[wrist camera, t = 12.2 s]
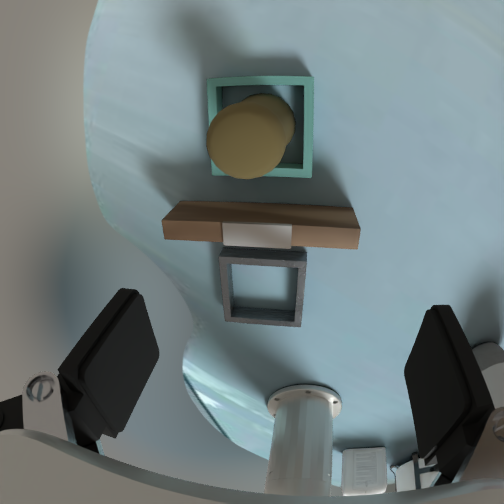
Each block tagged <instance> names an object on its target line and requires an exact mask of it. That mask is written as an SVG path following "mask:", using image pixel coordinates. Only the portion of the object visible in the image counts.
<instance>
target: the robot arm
mask: <svg viewBox="0 0 504 504" xmlns="http://www.w3.org/2000/svg"><path fill="white" fill-rule="evenodd" d="M158 358H159V348H158V345H157V342H156V339H155V336H154V333H153V329H152V326H151V323H150V319H149V316H148V312H147V310H146V306H145V302H144V299H143V296H142V295H140V294H139V292H138V291H137V290H135V289H125V288H121V289H120V290H118V292H117V293H116V294H115V295H114V297H113V298H112V299H111V300H110V302H109V303H108V304H107V305H106V307H105V308H104V309H103V310H102V312H101V313H100V314H99V315H98V317H97V318H96V319H95V320H94V322H93V323H92V324H91V326H90V327H89V328H88V329H87V331H86V332H85V333H84V335H83V336H82V337H81V339H80V340H79V341H78V343H77V344H76V345H75V347H74V348H73V349H72V351H71V352H70V353H69V355H68V356H67V357H66V359H65V360H64V361H63V363H62V364H61V366H60V367H59V368H58V371H59V374H58V376H56V375H55V374H53V373H51V372H46V371H44V372H39V373H37V374H34V375H33V376H32V377H30V378H29V379H28V380H27V382H26V383H25V385H24V387H23V392H22V395H20V396H17V397H14V398H11V399H8V400H5V401H2V402H0V504H504V407H499V408H496V409H495V407H494V404H493V400H492V398H491V395H490V392H489V390H488V387H487V385H486V382H485V380H484V377H483V375H482V372H481V370H480V367H479V365H478V363H477V360H476V358H475V356H474V354H473V351H472V349H471V347H470V345H469V343H468V340H467V338H466V336H465V334H464V332H463V330H462V328H461V326H460V324H459V322H458V320H457V318H456V316H455V314H454V312H453V310H452V308H451V307H450V305H433V306H432V307H431V309H430V310H427V311H426V313H425V316H424V319H423V322H422V324H421V327H420V330H419V333H418V335H417V338H416V340H415V343H414V346H413V348H412V351H411V353H410V355H409V358H408V360H407V363H406V365H405V369H404V376H405V380H406V385H407V389H408V394H409V399H410V404H411V409H412V414H413V420H414V425H415V431H416V437H417V443H418V450H419V456H420V458H421V459H424V463H425V466H428V465H434V464H438V470H439V472H438V474H437V476H436V477H435V479H434V480H433V482H432V483H431V485H430V486H429V487H428V488H422V489H416V490H408V491H401V492H392V493H383V494H372V495H358V496H331V477H332V444H333V419H334V418H335V417H336V416H337V415H338V414H339V413H340V412H341V409H342V401H341V398H340V397H339V395H338V394H337V393H335V392H334V391H332V390H330V389H328V388H325V387H321V386H316V385H294V386H289V387H285V388H283V389H280V390H278V391H276V392H275V393H273V394H272V395H271V396H270V398H269V400H268V407H267V408H268V411H269V413H270V414H271V415H272V416H273V417H274V418H275V422H274V429H273V437H272V444H271V450H270V457H269V464H268V470H267V477H266V483H265V490H264V493H255V492H246V491H239V490H233V489H226V488H220V487H214V486H209V485H204V484H199V483H195V482H190V481H185V480H181V479H177V478H173V477H169V476H165V475H162V474H158V473H155V472H151V471H148V470H145V469H141V468H138V467H135V466H132V465H129V464H126V463H123V462H120V461H117V460H115V459H112V458H109V457H106V456H105V455H104V452H103V449H102V445H101V442H100V437H101V435H102V434H105V435H107V436H110V437H113V438H116V437H117V434H118V433H119V432H122V431H123V430H124V428H125V426H126V424H127V422H128V420H129V418H130V415H131V413H132V411H133V409H134V407H135V405H136V403H137V401H138V399H139V397H140V395H141V393H142V391H143V389H144V387H145V385H146V383H147V381H148V379H149V377H150V375H151V373H152V371H153V369H154V367H155V365H156V363H157V361H158Z"/></svg>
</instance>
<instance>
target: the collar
mask: <svg viewBox="0 0 504 504" xmlns="http://www.w3.org/2000/svg"><path fill="white" fill-rule="evenodd" d="M244 85H301V86H304V147H303V164H294V163H279V164H278V165H277V166H276V167H275V168H274V169H273V170H272V171H270V172H269V173H267V174H265V175H263V176H276V177H301V178H312V157H313V113H314V77H306V76H243V77H224V78H210V79H207V97H208V117H209V126H210V123H211V121H212V120H213V119H214V117H215V116H216V115H217V113H218V112H219V111H221V110H222V88H221V87H223V86H244ZM211 167H212V176H230V175H227V174H225V173H224V172H223V171H221V170H220V169H219V168H218V167H216V165H215V164H214V162H213V161H212V159H211Z"/></svg>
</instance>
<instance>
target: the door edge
mask: <svg viewBox="0 0 504 504" xmlns="http://www.w3.org/2000/svg"><path fill="white" fill-rule="evenodd" d="M162 226H163V233H164V238H165V239H169V240H190V241H211V242H224V245H228V246H247V247H266V248H284V249H291V246H306V247H324V248H341V249H358V244H359V237H360V230H361V229H360V226H359V223H358V220H357V218H356V215H355V212H354V210H353V208H351V207H336V206H319V205H301V204H279V203H253V202H212V201H180V202H179V203H178V204H177V205H176V206H175V207H174V208H173V209H172V210H171V211H170V212H169V213H168V214H167V215H166V216H165V217H164V218H163V219H162Z"/></svg>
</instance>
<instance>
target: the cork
mask: <svg viewBox="0 0 504 504" xmlns="http://www.w3.org/2000/svg"><path fill="white" fill-rule="evenodd" d="M295 125H296V121H295V117H294V113H293V111H292V110H291V108H290V106H289V105H288V104H287V103H286V102H285V101H284V100H282V99H281V98H280V97H277V96H275V95H272V94H266V93H259V94H254V95H250V96H249V97H247V98H245V99H244V100H242V101H241V102H239V103H236V104H232V105H229V106H227V107H226V108H224V109H222V110H221V111H219V112H218V113H217V115H216V116H215V117H214V119H213V120H212V121H211V123H210V126H209V129H208V132H207V142H206V146H207V149H208V153H209V156H210V158H211V159H212V161H213V162H214V164H215V165H216V167H218V168H219V169H220V170H221V171H223V172H224V173H225V174H227V175H230V176H232V177H235V178H239V179H252V178H257V177H261V176H263V175H265V174H267V173H269V172H270V171H272V170H273V169H274V168H275V167H276V166H277V165H278V164H279V162H280V161H281V159H282V156H283V154H284V152H285V147H286V146H287V145H288V143H289V142H290V141H291V139H292V137H293V135H294V133H295Z"/></svg>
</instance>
